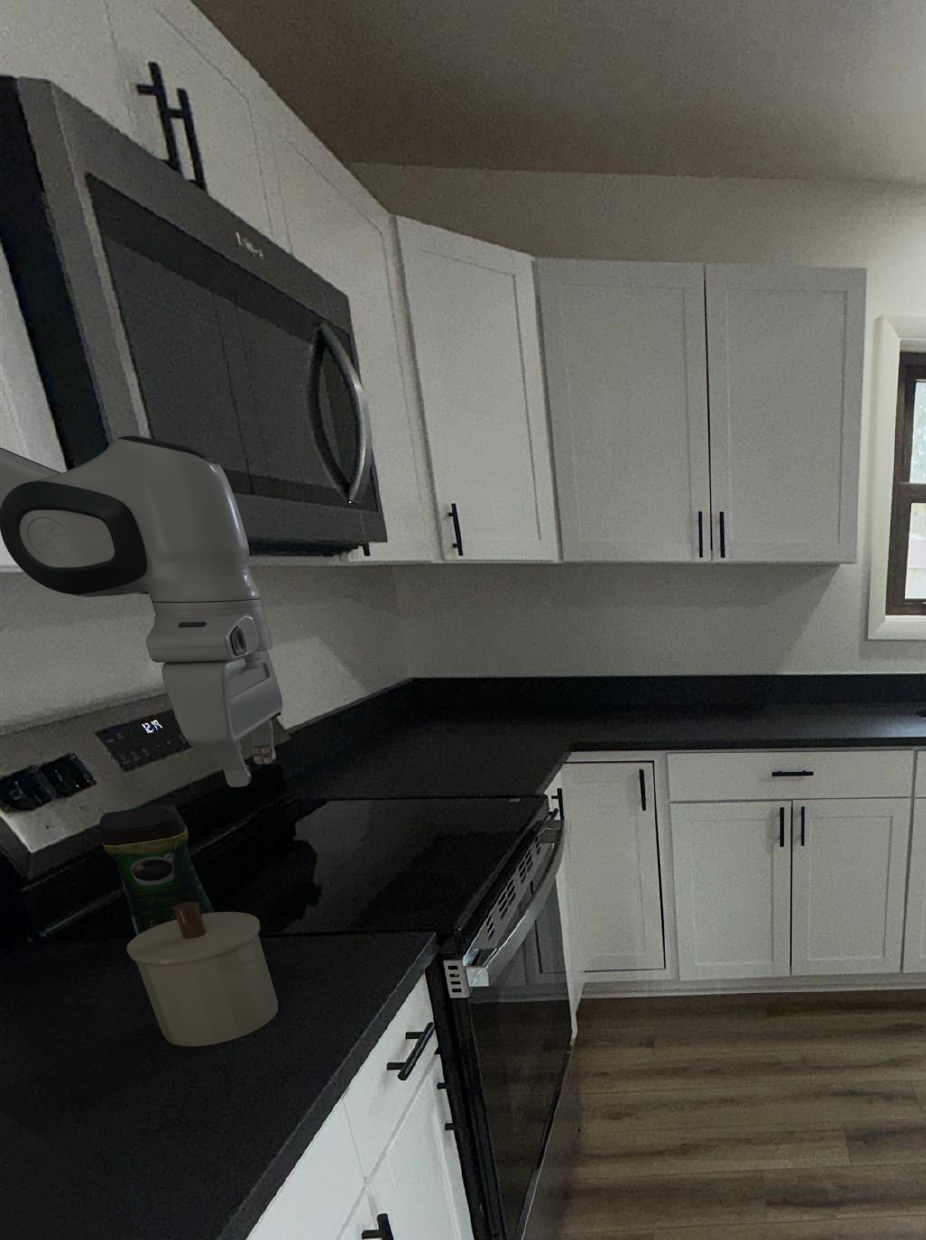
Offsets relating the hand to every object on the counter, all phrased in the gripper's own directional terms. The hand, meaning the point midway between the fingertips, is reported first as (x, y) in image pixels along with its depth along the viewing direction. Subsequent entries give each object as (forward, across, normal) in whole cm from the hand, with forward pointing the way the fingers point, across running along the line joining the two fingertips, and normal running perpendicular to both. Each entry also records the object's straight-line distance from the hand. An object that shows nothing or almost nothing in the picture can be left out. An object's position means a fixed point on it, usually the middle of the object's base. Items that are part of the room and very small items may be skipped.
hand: (254, 773), depth 86 cm
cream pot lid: (+19, -3, -11) cm, 22 cm away
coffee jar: (+30, -32, -25) cm, 51 cm away
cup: (+30, -3, -11) cm, 32 cm away
